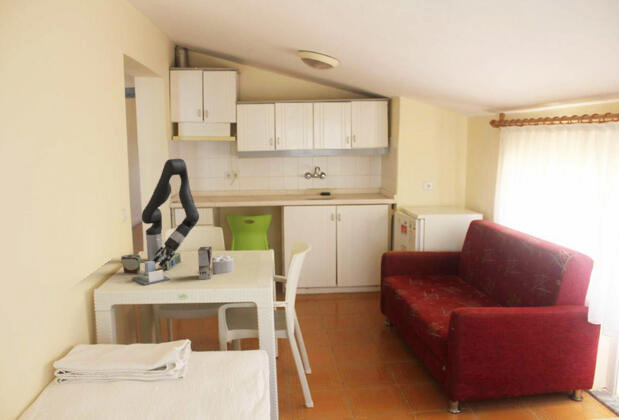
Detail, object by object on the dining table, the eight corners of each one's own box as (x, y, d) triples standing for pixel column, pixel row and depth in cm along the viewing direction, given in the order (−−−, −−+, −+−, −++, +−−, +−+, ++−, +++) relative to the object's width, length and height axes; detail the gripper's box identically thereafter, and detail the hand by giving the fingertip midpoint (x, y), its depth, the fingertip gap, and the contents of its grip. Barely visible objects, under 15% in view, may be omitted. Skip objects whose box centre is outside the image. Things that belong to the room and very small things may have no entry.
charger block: (145, 278, 262) (144, 261, 261) (152, 276, 264) (151, 260, 263) (149, 279, 258) (147, 263, 257) (156, 278, 261) (155, 261, 260)
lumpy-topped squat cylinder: (209, 270, 279) (208, 255, 278) (231, 268, 284) (231, 253, 283) (213, 274, 270) (212, 259, 269) (236, 272, 274) (235, 257, 273)
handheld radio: (182, 262, 300) (164, 273, 276) (177, 263, 301) (159, 273, 276) (181, 252, 299) (163, 261, 275) (176, 252, 300) (158, 262, 275)
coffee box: (211, 279, 261) (209, 249, 259) (199, 279, 260) (197, 250, 258) (213, 274, 270) (211, 246, 268) (201, 275, 270) (199, 246, 267)
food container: (146, 271, 279) (145, 254, 278) (139, 274, 273) (138, 257, 272) (129, 270, 283) (128, 253, 282) (122, 273, 277) (120, 256, 276)
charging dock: (132, 279, 263) (131, 269, 262) (156, 274, 272) (155, 264, 271) (144, 285, 251) (143, 274, 250) (169, 280, 260) (169, 269, 260)
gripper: (164, 235, 272) (145, 258, 266) (176, 238, 262) (157, 263, 256) (173, 243, 277) (155, 266, 271) (185, 246, 266) (167, 270, 260)
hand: (156, 264), depth 263 cm, fingers open, 8 cm apart
